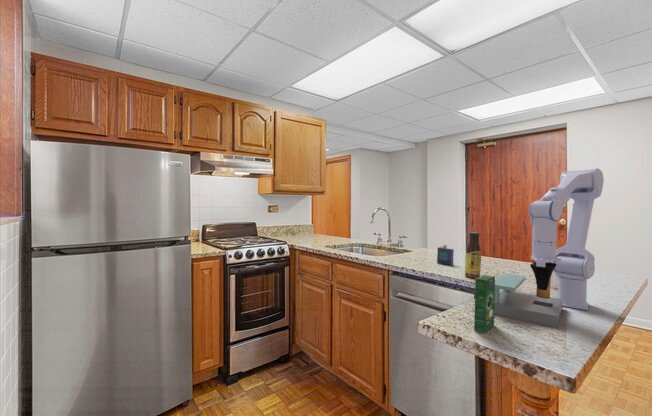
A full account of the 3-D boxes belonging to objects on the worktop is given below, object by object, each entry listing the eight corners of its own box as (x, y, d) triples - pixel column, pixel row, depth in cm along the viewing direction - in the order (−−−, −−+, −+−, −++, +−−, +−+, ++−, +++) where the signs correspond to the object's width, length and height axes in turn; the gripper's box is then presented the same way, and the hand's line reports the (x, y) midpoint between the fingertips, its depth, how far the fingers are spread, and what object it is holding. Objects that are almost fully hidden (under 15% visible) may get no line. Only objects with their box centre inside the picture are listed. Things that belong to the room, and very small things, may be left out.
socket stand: (503, 298, 105) (503, 273, 105) (562, 308, 94) (562, 281, 94) (488, 312, 90) (489, 283, 90) (556, 327, 79) (557, 294, 79)
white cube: (539, 286, 122) (540, 268, 122) (542, 283, 127) (542, 266, 127) (561, 289, 117) (561, 271, 117) (563, 286, 122) (563, 269, 122)
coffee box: (483, 322, 82) (484, 273, 82) (495, 325, 80) (496, 275, 80) (473, 330, 77) (474, 277, 76) (485, 334, 75) (486, 280, 75)
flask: (454, 265, 163) (454, 245, 163) (451, 266, 162) (451, 245, 161) (438, 262, 171) (438, 243, 171) (435, 263, 169) (435, 244, 169)
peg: (537, 294, 92) (538, 267, 91) (550, 296, 90) (551, 269, 89) (535, 296, 89) (536, 269, 89) (549, 299, 87) (550, 271, 87)
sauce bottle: (471, 279, 132) (472, 233, 132) (461, 275, 139) (462, 231, 138) (484, 278, 134) (485, 232, 134) (473, 275, 140) (474, 231, 140)
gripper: (559, 245, 81) (558, 296, 81) (563, 241, 92) (562, 286, 92) (527, 242, 86) (526, 291, 86) (534, 239, 97) (533, 282, 97)
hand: (543, 288), depth 89 cm, fingers closed on peg, 3 cm apart
